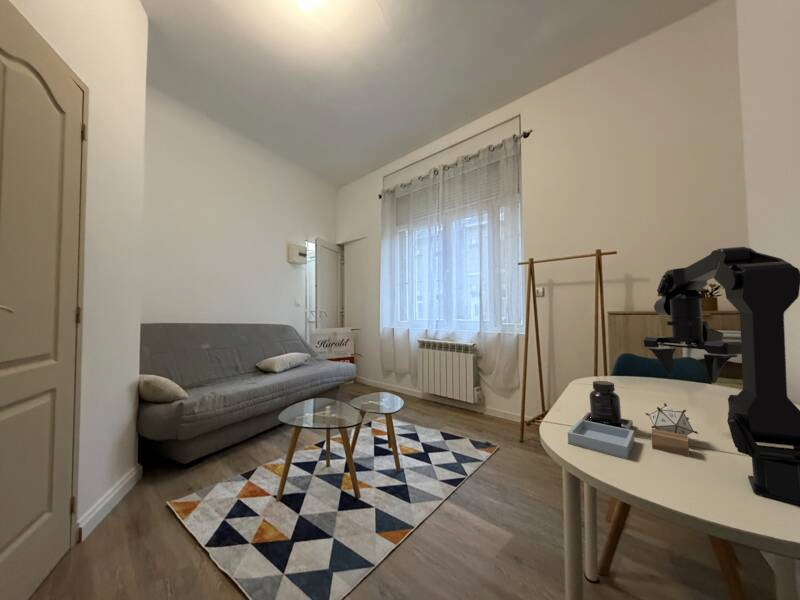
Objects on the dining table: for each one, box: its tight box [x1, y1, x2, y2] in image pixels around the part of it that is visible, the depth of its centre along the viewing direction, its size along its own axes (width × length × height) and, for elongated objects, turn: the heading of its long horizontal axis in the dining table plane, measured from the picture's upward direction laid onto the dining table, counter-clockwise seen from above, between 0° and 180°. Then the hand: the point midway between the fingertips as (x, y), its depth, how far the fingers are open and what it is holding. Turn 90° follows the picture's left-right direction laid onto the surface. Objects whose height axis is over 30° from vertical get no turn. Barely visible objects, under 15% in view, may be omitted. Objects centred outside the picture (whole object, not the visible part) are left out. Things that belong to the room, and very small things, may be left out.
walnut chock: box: [650, 428, 690, 458], centre depth 65 cm, size 4×6×4 cm, turn 46°
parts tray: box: [567, 419, 636, 460], centre depth 70 cm, size 11×11×3 cm
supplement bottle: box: [589, 380, 623, 428], centre depth 79 cm, size 7×7×12 cm
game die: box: [645, 402, 699, 436], centre depth 71 cm, size 9×8×10 cm
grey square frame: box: [580, 411, 634, 430], centre depth 79 cm, size 10×10×2 cm
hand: (690, 378), depth 73 cm, fingers open, 9 cm apart
